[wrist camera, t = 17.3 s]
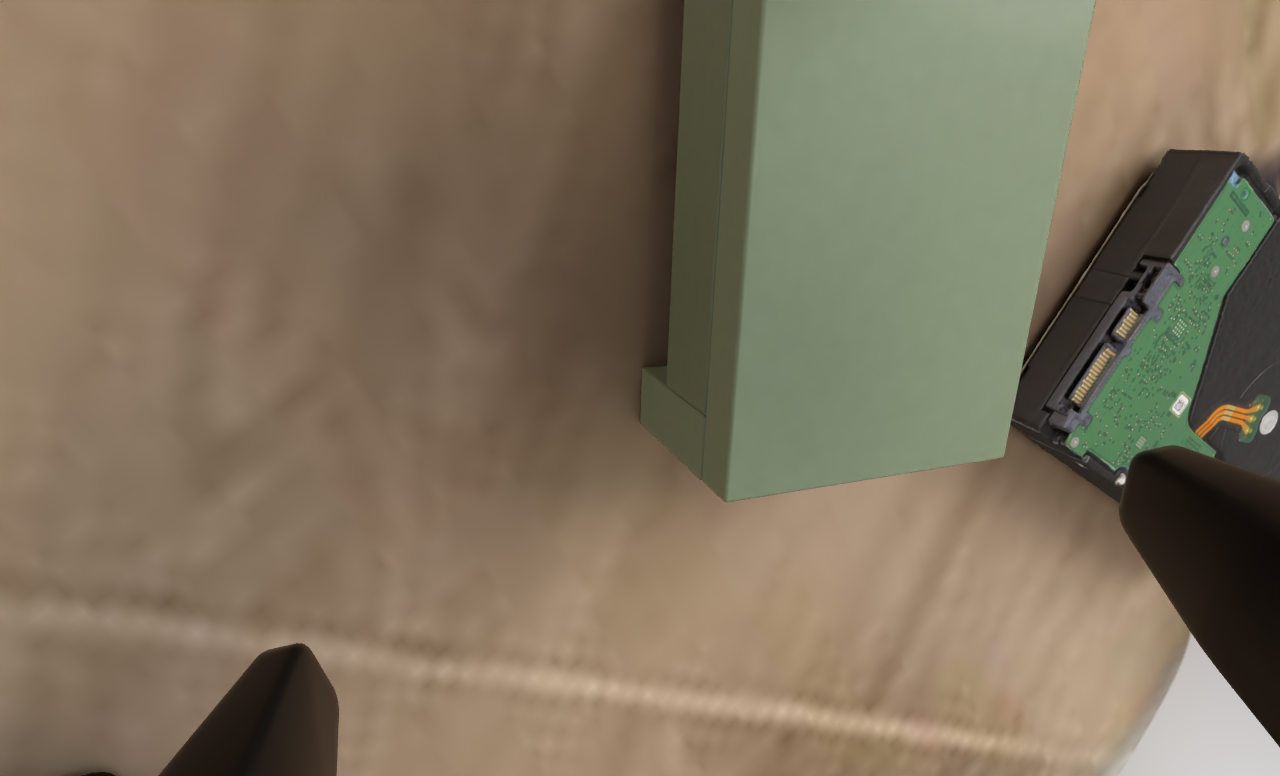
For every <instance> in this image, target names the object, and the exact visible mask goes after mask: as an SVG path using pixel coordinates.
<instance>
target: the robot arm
mask: <svg viewBox="0 0 1280 776" xmlns="http://www.w3.org/2000/svg"><path fill="white" fill-rule="evenodd" d="M1119 516H1120V520H1121V523H1122V526H1123V528H1124V530H1125V532H1126V533H1127V535H1128V537H1129V538H1130V540H1131V541H1132V543H1133V544H1134V546H1135V547H1136V549H1137V550H1138V552H1139V553H1140V555H1141V557H1142V558H1143V560H1144V561H1145V563H1146V564H1147V566H1148V567H1149V569H1150V570H1151V572H1152V573H1153V575H1154V577H1155V578H1156V580H1157V581H1158V583H1159V584H1160V586H1161V587H1162V589H1163V590H1164V592H1165V593H1166V595H1167V596H1168V598H1169V600H1170V601H1171V603H1172V604H1173V606H1174V607H1175V609H1176V610H1177V612H1178V613H1179V615H1180V616H1181V618H1182V620H1183V621H1184V623H1185V624H1186V626H1187V627H1188V629H1189V630H1190V632H1191V633H1192V635H1193V636H1194V638H1196V640H1197V642H1198V643H1199V645H1200V646H1201V647H1202V649H1203V650H1204V652H1205V653H1206V654H1207V656H1208V657H1209V658H1210V660H1211V661H1212V662H1213V664H1214V665H1215V666H1216V668H1217V669H1218V670H1219V672H1220V673H1221V674H1222V675H1223V676H1224V678H1225V679H1226V680H1227V682H1228V683H1229V684H1230V685H1231V687H1232V688H1233V689H1234V690H1235V692H1236V693H1237V694H1238V695H1239V697H1240V698H1241V699H1242V700H1243V702H1244V703H1245V704H1246V705H1247V707H1248V708H1249V709H1250V710H1251V712H1252V713H1253V714H1254V715H1255V717H1256V718H1257V719H1258V720H1259V722H1260V723H1261V724H1262V725H1263V726H1264V728H1265V729H1266V730H1267V732H1268V733H1269V734H1270V735H1271V737H1272V738H1273V739H1274V741H1275V742H1276V743H1277V744H1278V746H1279V747H1280V481H1278V480H1275V479H1272V478H1269V477H1266V476H1264V475H1261V474H1258V473H1255V472H1252V471H1250V470H1247V469H1244V468H1241V467H1238V466H1235V465H1233V464H1230V463H1227V462H1224V461H1221V460H1218V459H1216V458H1213V457H1210V456H1207V455H1204V454H1202V453H1199V452H1196V451H1193V450H1190V449H1187V448H1185V447H1181V446H1176V445H1168V446H1163V447H1159V448H1155V449H1150V450H1146V451H1141V452H1139V453H1137V454H1136V455H1135V456H1134V457H1133V458H1132V460H1131V462H1130V465H1129V469H1128V473H1127V477H1126V481H1125V485H1124V489H1123V493H1122V496H1121V500H1120V504H1119ZM338 723H339V706H338V699H337V695H336V692H335V690H334V688H333V686H332V684H331V683H330V681H329V679H328V678H327V676H326V674H325V673H324V671H323V669H322V668H321V666H320V664H319V663H318V661H317V659H316V658H315V656H314V654H313V653H312V651H311V650H310V648H309V647H308V646H306V645H305V644H302V643H300V644H299V643H296V644H292V645H288V646H283V647H279V648H274V649H270V650H267V651H265V652H263V653H262V654H260V655H259V656H258V657H257V658H256V659H255V660H254V661H253V663H252V664H251V665H250V666H249V667H248V669H247V670H246V671H245V672H244V673H243V675H242V676H241V677H240V678H239V679H238V681H237V682H236V683H235V684H234V685H233V687H232V688H231V689H230V690H229V691H228V693H227V694H226V695H225V696H224V697H223V699H222V700H221V701H220V702H219V703H218V705H217V706H216V707H215V708H214V709H213V711H212V712H211V713H210V714H209V715H208V717H207V718H206V719H205V720H204V721H203V723H202V724H201V725H200V726H199V727H198V729H197V730H196V731H195V732H194V733H193V735H192V736H191V737H190V738H189V739H188V741H187V742H186V743H185V744H184V745H183V747H182V748H181V749H180V750H179V751H178V753H177V754H176V755H175V756H174V757H173V759H172V760H171V761H170V762H169V763H168V765H167V766H166V767H165V768H164V769H163V771H162V772H161V773H160V774H159V776H336V775H337V749H338ZM82 776H115V775H113V774H111V773H106V772H97V773H90V774H86V775H82Z"/></svg>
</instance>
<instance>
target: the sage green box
mask: <svg viewBox="0 0 1280 776" xmlns="http://www.w3.org/2000/svg"><path fill="white" fill-rule="evenodd" d="M1095 3H1096V0H684V20H683V42H682V63H681V84H680V106H679V127H678V148H677V170H676V191H675V212H674V234H673V255H672V276H671V298H670V319H669V340H668V362H667V366H660V367H648V368H643V369H642V387H641V415H640V423H641V424H642V425H643V426H644V427H645V428H646V429H647V430H648V431H649V432H650V433H651V434H652V435H653V436H655V437H656V438H657V439H658V440H659V441H660V442H661V443H662V444H663V445H664V446H665V447H666V448H667V449H668V450H669V451H670V452H671V453H672V454H673V455H675V456H676V457H677V458H678V459H679V460H680V461H681V462H682V463H683V464H684V465H685V466H686V467H687V468H688V469H689V470H690V471H691V472H692V473H694V474H695V475H696V476H697V477H698V478H699V479H700V480H703V482H704V483H705V484H706V485H707V486H708V487H709V488H710V489H711V490H713V491H714V492H715V493H716V494H717V495H718V496H719V497H720V498H721V499H722V500H723V501H725V502H732V501H738V500H744V499H750V498H757V497H763V496H769V495H775V494H781V493H788V492H794V491H800V490H806V489H812V488H819V487H825V486H831V485H837V484H844V483H850V482H856V481H862V480H868V479H875V478H881V477H887V476H893V475H900V474H906V473H912V472H918V471H924V470H931V469H937V468H943V467H949V466H955V465H962V464H968V463H974V462H980V461H987V460H993V459H999V458H1002V457H1003V456H1004V453H1005V448H1006V443H1007V438H1008V433H1009V428H1010V423H1011V418H1012V413H1013V408H1014V403H1015V399H1016V394H1017V389H1018V384H1019V379H1020V374H1021V369H1022V364H1023V359H1024V354H1025V349H1026V344H1027V339H1028V334H1029V329H1030V324H1031V319H1032V314H1033V309H1034V305H1035V300H1036V295H1037V290H1038V285H1039V280H1040V275H1041V270H1042V265H1043V260H1044V255H1045V250H1046V245H1047V240H1048V235H1049V230H1050V225H1051V220H1052V215H1053V210H1054V206H1055V201H1056V196H1057V191H1058V186H1059V181H1060V176H1061V171H1062V166H1063V161H1064V156H1065V151H1066V146H1067V141H1068V136H1069V131H1070V126H1071V121H1072V116H1073V111H1074V107H1075V102H1076V97H1077V92H1078V87H1079V82H1080V77H1081V72H1082V67H1083V62H1084V57H1085V52H1086V47H1087V42H1088V37H1089V32H1090V27H1091V22H1092V17H1093V13H1094V8H1095Z"/></svg>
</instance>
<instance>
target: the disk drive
mask: <svg viewBox="0 0 1280 776" xmlns="http://www.w3.org/2000/svg"><path fill="white" fill-rule="evenodd" d="M1010 424H1012V425H1013V426H1014V427H1016V428H1017V429H1019V430H1020V431H1021V432H1023V433H1024V434H1025V435H1027V436H1028V437H1029V438H1030V439H1031V440H1032V441H1033V442H1035V443H1036V444H1038V445H1039V446H1040V447H1041V448H1042V449H1044V450H1046V451H1048V452H1049V453H1051V454H1052V455H1054V456H1055V457H1057V458H1058V459H1059V460H1061V461H1062V462H1064V463H1065V464H1067V465H1068V466H1069V467H1070V468H1072V469H1073V470H1075V471H1076V472H1077V473H1079V474H1080V475H1082V476H1083V477H1085V478H1086V479H1087V480H1088V481H1090V482H1092V483H1093V484H1094V485H1096V486H1097V487H1098V488H1100V489H1101V490H1102V491H1104V492H1105V493H1107V494H1108V495H1109V496H1111V497H1112V498H1113V499H1115V500H1117V501H1118V502H1119V503H1120V500H1121V496H1122V493H1123V489H1124V485H1125V481H1126V477H1127V473H1128V469H1129V465H1130V462H1131V460H1132V458H1133V457H1134V456H1135V455H1136V454H1137V453H1139V452H1141V451H1146V450H1150V449H1155V448H1159V447H1163V446H1168V445H1176V446H1181V447H1185V448H1187V449H1190V450H1193V451H1196V452H1199V453H1202V454H1204V455H1207V456H1210V457H1213V458H1216V459H1218V460H1221V461H1224V462H1227V463H1230V464H1233V465H1235V466H1238V467H1241V468H1244V469H1247V470H1250V471H1252V472H1255V473H1258V474H1261V475H1264V476H1266V477H1269V478H1272V479H1275V480H1278V481H1280V199H1279V197H1278V195H1277V194H1276V193H1275V191H1274V189H1273V188H1272V187H1271V186H1270V185H1269V184H1267V183H1266V182H1265V181H1264V180H1263V179H1262V176H1261V175H1260V173H1259V171H1258V169H1257V168H1256V166H1255V165H1254V164H1253V162H1252V161H1249V157H1248V156H1247V155H1245V153H1241V152H1229V151H1210V150H1175V149H1170V150H1169V151H1167V153H1166V154H1165V155H1164V157H1163V158H1162V161H1161V164H1160V165H1159V166H1158V168H1157V169H1156V170H1155V171H1154V172H1153V173H1152V174H1151V175H1150V176H1149V179H1148V180H1147V181H1146V182H1145V183H1144V184H1143V185H1142V186H1141V187H1140V189H1139V190H1138V191H1137V193H1136V194H1135V196H1134V198H1133V199H1132V201H1131V202H1130V204H1129V205H1128V207H1127V209H1126V210H1125V211H1124V212H1123V213H1122V216H1121V217H1120V219H1119V221H1118V222H1117V224H1116V225H1115V227H1114V228H1113V230H1112V232H1111V233H1110V234H1109V236H1108V237H1107V239H1106V240H1105V242H1104V244H1103V245H1102V247H1101V248H1100V250H1099V251H1098V253H1097V254H1096V256H1095V257H1094V259H1093V260H1092V263H1091V264H1090V265H1089V267H1088V268H1087V270H1086V271H1085V272H1084V274H1083V275H1082V277H1081V279H1080V280H1079V282H1078V284H1077V285H1076V286H1075V288H1074V290H1073V291H1072V293H1071V294H1070V295H1069V297H1068V299H1067V300H1066V302H1065V303H1064V305H1063V307H1062V308H1061V309H1060V311H1059V312H1058V314H1057V316H1056V317H1055V319H1054V320H1053V321H1052V323H1051V325H1050V326H1049V327H1048V329H1047V331H1046V332H1045V334H1044V335H1043V336H1042V338H1041V340H1040V342H1039V343H1038V344H1037V346H1036V348H1035V349H1034V351H1033V353H1032V354H1031V356H1030V357H1029V359H1028V360H1027V362H1026V363H1025V364H1024V366H1023V368H1022V369H1021V374H1020V379H1019V384H1018V389H1017V394H1016V399H1015V403H1014V408H1013V413H1012V418H1011V423H1010Z"/></svg>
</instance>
